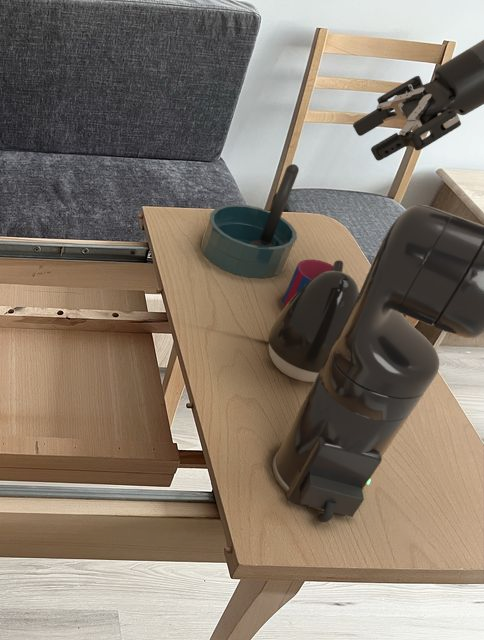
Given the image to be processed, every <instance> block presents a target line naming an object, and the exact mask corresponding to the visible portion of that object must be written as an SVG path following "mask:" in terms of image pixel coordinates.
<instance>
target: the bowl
mask: <svg viewBox="0 0 484 640" xmlns="http://www.w3.org/2000/svg"><path fill="white" fill-rule="evenodd" d="M270 211H271V210H270ZM270 211H269V210H267V209H265V208H261V207H258V206H253V205H249V204H238V203H237V204H236V203H234V204H225V205H221V206H218V207H216V208H214V209H213V210H212V211H211V212H210V214H209V217H208V220H207V223H206V227H205V230H204V233H203V236H202V239H201V244H200V249H201V252H202V254H203V256H204V257H205V258H206V259H207V260H208V261H209V262H210V263H211V264H213V265H214V266H216V267H218V268H219V269H221V270H223V271H226V272H228V273H230V274H233V275H235V276H240V277H243V278H248V279H249V278H250V279H267V278H272V277H276V276H278V275H279V274H281V273H283V271H284V270H285V268H286V266H287V264H288V261H289V259H290V257H291V255H292V252H293V249H294V247H295V245H296V242H297V240H298V235H297V231H296V229H295V228H294V226H293V225H292V224H291V223H290V222H289V221H287V220H286V218H284V217H282V216H281V218H280V221H279V223H278V226H277V228H276V231H275V234H274V236H273V239H272V241H271V243H270V244H272V245H273V246H275V247H263V246H256V245H251V244H250V242H251V241H254V240H260V238H261V235H262V232H263V230H264V227H265V224H266V222H267V219H268V216H269V214H270Z"/></svg>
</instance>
